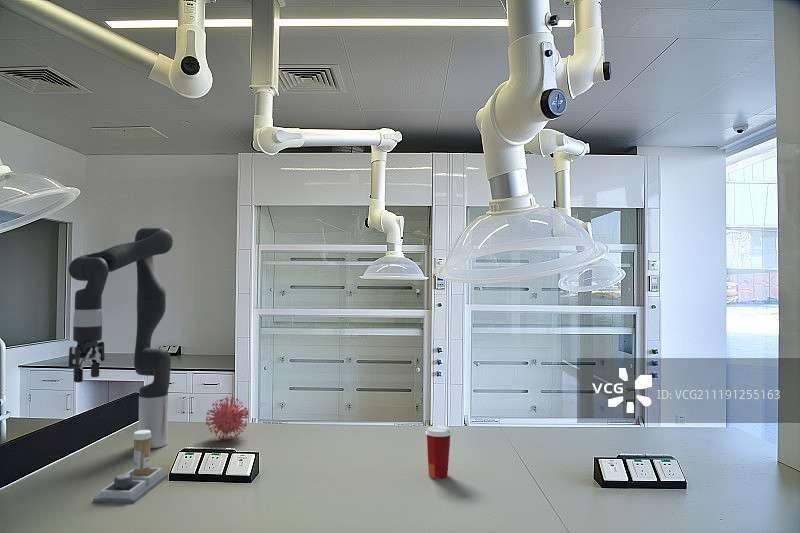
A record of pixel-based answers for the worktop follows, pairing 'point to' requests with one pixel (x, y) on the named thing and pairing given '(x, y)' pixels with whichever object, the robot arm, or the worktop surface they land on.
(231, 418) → the virus model
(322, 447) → the worktop surface
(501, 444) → the worktop surface
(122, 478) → the grey flat tray
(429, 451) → the paper cup
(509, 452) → the worktop surface
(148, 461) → the sprinkles bottle
